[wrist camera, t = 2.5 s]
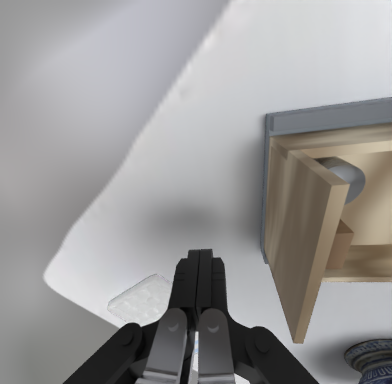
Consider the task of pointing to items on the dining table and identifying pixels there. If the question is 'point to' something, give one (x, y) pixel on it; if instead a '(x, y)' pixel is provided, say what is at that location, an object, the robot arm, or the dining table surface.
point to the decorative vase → (372, 361)
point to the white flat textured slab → (144, 302)
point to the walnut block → (340, 246)
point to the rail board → (321, 127)
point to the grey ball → (345, 175)
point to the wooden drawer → (326, 214)
